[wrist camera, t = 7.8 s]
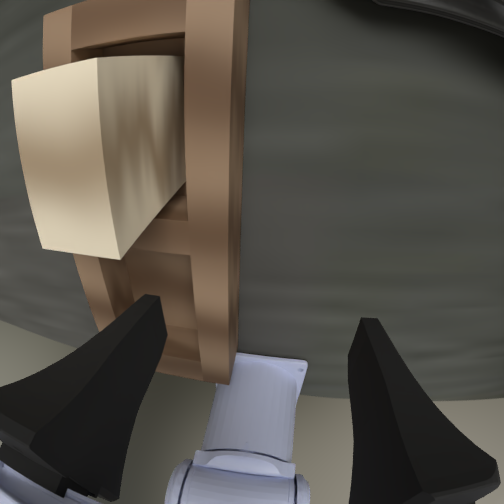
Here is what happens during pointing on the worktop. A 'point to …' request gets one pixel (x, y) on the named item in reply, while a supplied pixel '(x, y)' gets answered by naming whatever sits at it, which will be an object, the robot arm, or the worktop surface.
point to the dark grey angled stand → (458, 11)
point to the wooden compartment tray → (197, 174)
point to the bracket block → (101, 149)
